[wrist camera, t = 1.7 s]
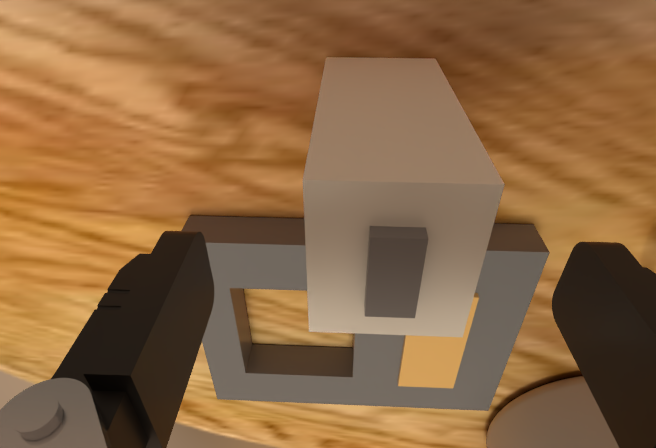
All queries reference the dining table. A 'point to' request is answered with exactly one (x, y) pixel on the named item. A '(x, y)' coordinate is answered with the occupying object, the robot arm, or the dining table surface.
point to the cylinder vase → (552, 419)
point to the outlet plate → (368, 349)
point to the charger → (394, 201)
